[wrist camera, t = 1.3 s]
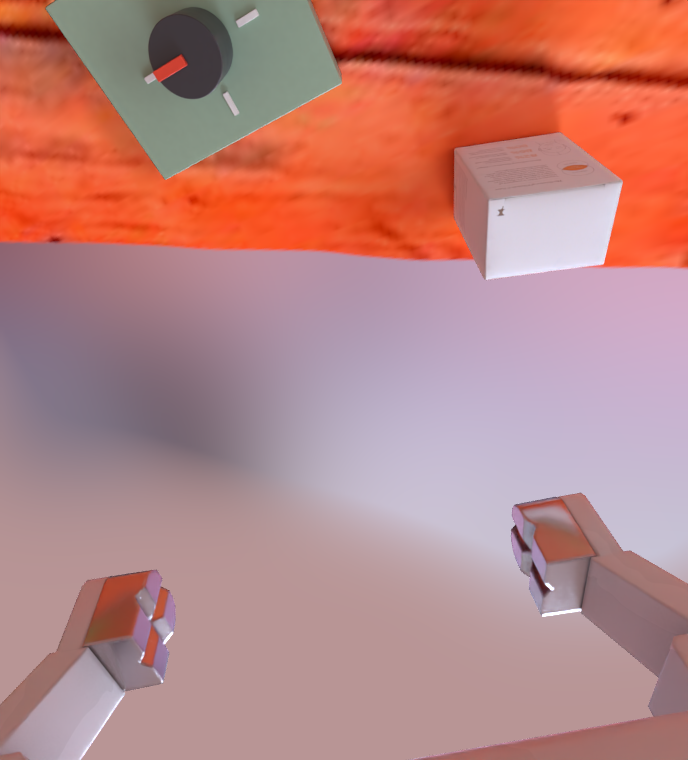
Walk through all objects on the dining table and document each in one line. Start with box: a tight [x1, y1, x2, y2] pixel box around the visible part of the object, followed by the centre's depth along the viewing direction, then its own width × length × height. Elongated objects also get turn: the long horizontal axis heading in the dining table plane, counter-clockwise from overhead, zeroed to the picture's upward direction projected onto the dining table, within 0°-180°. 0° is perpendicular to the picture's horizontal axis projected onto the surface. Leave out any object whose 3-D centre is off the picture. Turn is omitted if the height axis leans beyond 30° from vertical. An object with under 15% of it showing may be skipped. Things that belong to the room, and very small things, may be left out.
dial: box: [148, 7, 233, 99], centre depth 29 cm, size 4×4×4 cm
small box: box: [454, 132, 623, 280], centre depth 35 cm, size 8×6×10 cm
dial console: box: [45, 0, 342, 180], centre depth 32 cm, size 14×11×3 cm
